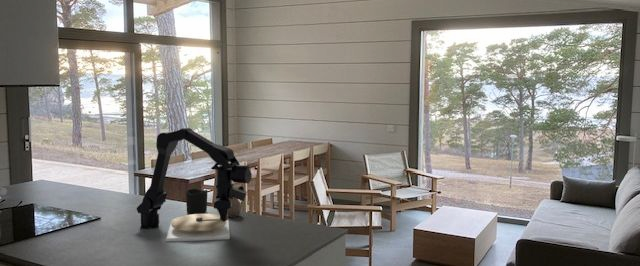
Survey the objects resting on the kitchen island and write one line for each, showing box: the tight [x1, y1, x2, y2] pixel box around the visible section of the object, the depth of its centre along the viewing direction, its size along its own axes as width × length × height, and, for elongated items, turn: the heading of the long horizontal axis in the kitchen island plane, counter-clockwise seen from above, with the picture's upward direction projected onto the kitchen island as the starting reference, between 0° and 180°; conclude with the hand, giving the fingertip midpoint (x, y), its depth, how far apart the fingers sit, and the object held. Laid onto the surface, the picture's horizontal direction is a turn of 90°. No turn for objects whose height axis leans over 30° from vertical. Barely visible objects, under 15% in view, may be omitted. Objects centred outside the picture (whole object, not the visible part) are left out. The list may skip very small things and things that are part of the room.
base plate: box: [165, 219, 231, 243], centre depth 205 cm, size 23×23×1 cm
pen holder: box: [185, 188, 208, 215], centre depth 234 cm, size 9×9×10 cm
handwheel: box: [171, 211, 229, 231], centre depth 205 cm, size 22×21×8 cm
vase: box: [228, 198, 242, 218], centre depth 229 cm, size 7×7×9 cm
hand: (224, 221), depth 201 cm, fingers closed
